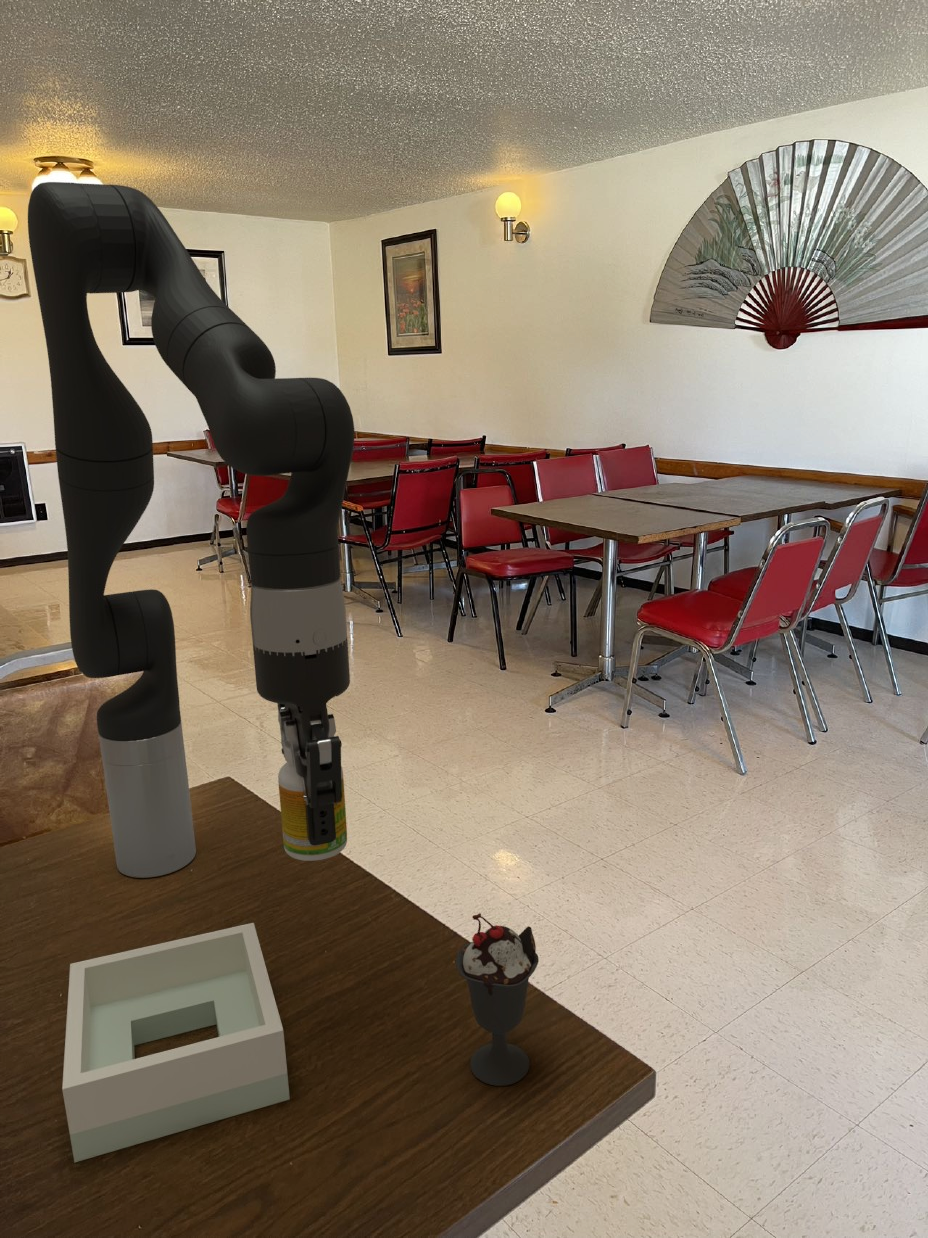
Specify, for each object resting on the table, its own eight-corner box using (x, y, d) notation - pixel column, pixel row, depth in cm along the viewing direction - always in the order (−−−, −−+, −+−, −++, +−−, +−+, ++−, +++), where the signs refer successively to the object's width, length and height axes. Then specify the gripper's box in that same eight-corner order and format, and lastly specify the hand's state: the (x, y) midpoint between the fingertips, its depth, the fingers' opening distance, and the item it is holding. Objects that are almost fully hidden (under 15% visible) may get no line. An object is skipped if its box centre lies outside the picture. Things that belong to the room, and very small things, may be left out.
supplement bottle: (336, 865, 75) (328, 755, 73) (274, 860, 76) (264, 752, 74) (355, 833, 80) (349, 730, 78) (297, 829, 81) (289, 727, 79)
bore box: (80, 1026, 82) (70, 963, 81) (259, 982, 88) (253, 922, 86) (74, 1162, 68) (62, 1089, 66) (289, 1099, 73) (283, 1030, 71)
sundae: (448, 1084, 74) (441, 921, 70) (475, 1030, 80) (471, 877, 77) (526, 1104, 72) (524, 936, 68) (548, 1047, 78) (547, 890, 74)
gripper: (239, 619, 78) (255, 799, 83) (268, 666, 65) (286, 877, 70) (325, 609, 81) (336, 784, 85) (369, 652, 68) (380, 856, 72)
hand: (314, 825), depth 78 cm, fingers closed on supplement bottle, 5 cm apart
